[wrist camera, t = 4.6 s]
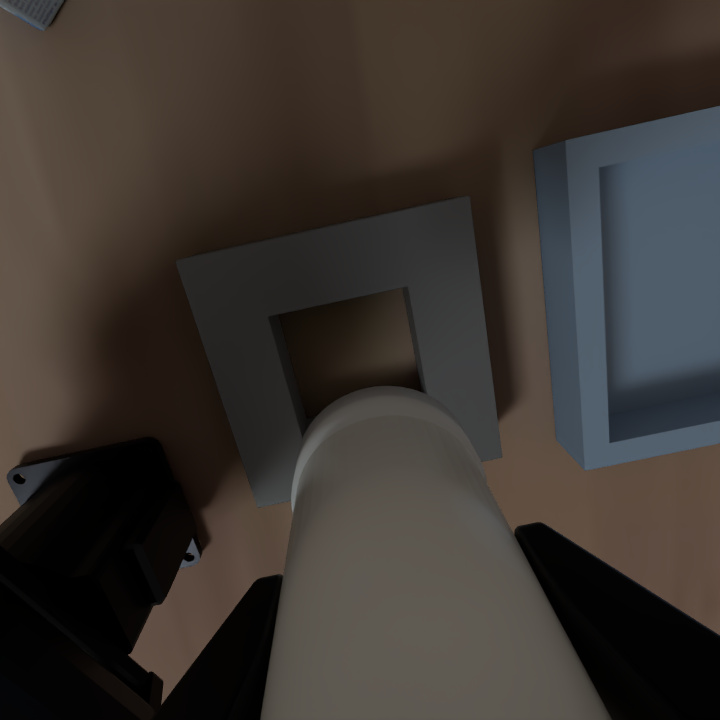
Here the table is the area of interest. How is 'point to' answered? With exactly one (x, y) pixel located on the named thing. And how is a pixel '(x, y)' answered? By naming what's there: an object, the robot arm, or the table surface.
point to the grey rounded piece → (410, 581)
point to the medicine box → (33, 11)
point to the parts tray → (633, 287)
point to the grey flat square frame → (332, 284)
